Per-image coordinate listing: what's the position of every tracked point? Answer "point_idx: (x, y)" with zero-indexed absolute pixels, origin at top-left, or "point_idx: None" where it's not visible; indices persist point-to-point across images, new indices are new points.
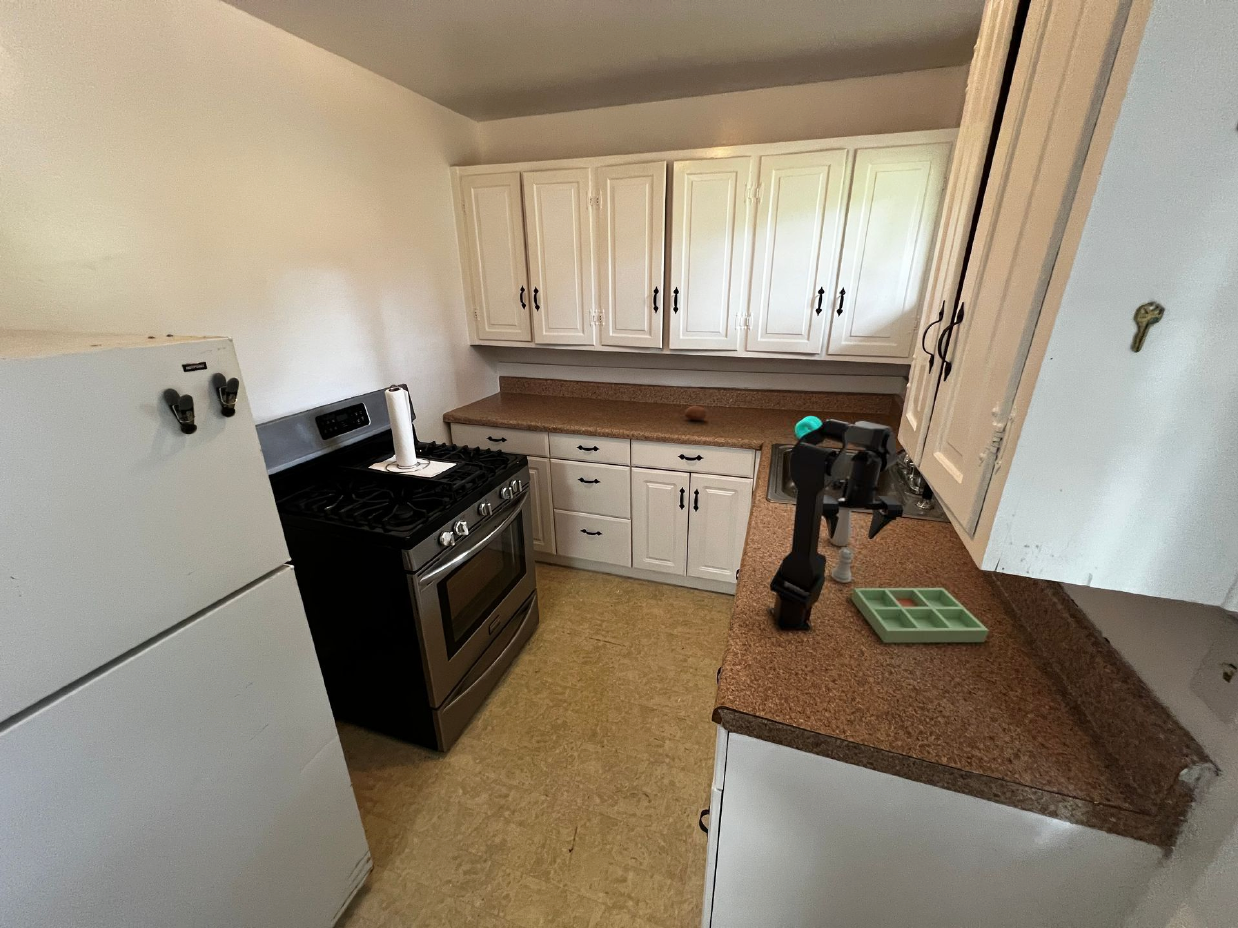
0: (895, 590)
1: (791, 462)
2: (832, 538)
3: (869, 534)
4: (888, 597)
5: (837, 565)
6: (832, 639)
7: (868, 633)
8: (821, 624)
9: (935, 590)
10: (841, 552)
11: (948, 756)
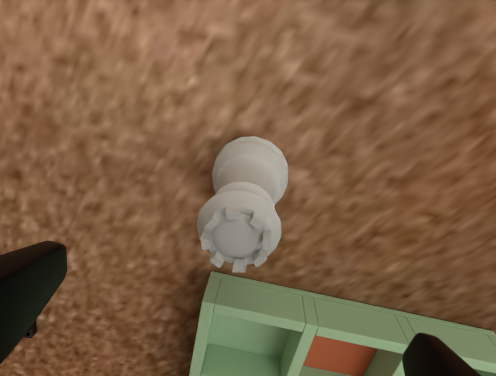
0: (341, 340)
1: None
2: (60, 282)
3: (432, 374)
4: (294, 346)
5: (222, 181)
6: (79, 362)
7: (172, 369)
8: (73, 325)
9: (483, 368)
10: (201, 233)
11: None
